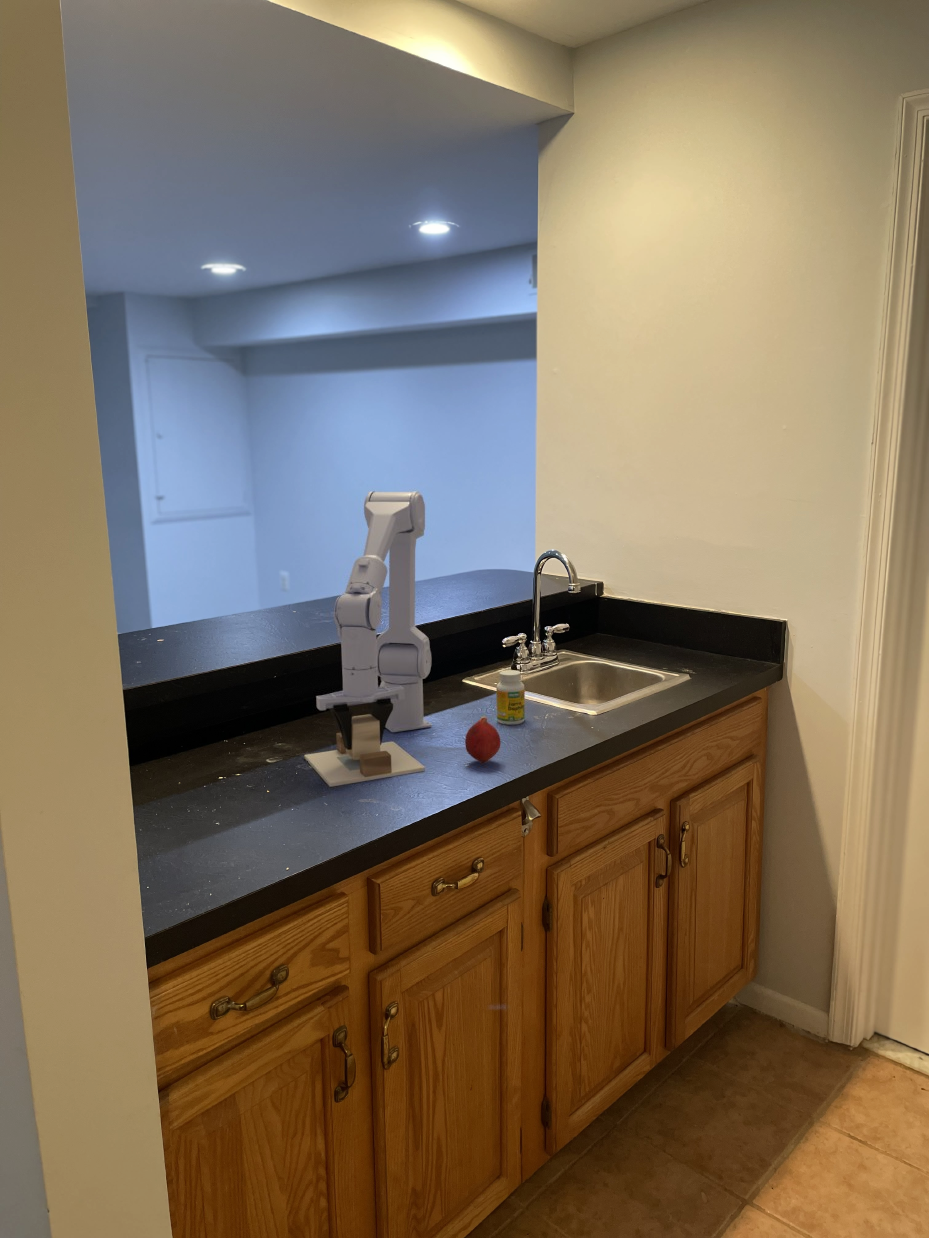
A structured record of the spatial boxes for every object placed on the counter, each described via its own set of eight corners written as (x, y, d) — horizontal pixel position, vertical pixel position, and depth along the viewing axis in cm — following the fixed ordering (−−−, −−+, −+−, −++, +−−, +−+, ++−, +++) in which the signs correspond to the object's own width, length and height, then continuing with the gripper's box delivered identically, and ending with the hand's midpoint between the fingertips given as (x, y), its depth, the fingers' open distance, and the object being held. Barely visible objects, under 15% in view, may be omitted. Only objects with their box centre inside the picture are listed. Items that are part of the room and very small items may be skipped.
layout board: (304, 758, 159) (304, 754, 159) (393, 744, 166) (392, 740, 166) (329, 786, 146) (329, 782, 146) (424, 770, 152) (424, 766, 152)
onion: (475, 771, 152) (475, 724, 150) (459, 761, 157) (458, 715, 155) (506, 765, 154) (506, 718, 153) (489, 755, 159) (489, 710, 158)
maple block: (346, 752, 157) (344, 717, 156) (371, 748, 158) (370, 714, 157) (354, 760, 153) (353, 724, 152) (380, 755, 154) (379, 721, 153)
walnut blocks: (337, 749, 162) (336, 733, 161) (361, 746, 163) (361, 729, 163) (364, 777, 148) (364, 759, 148) (391, 772, 150) (391, 754, 150)
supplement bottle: (513, 715, 182) (513, 667, 181) (530, 722, 178) (530, 673, 176) (491, 720, 179) (490, 671, 178) (507, 727, 175) (507, 677, 173)
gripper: (323, 676, 146) (327, 759, 149) (410, 666, 152) (412, 746, 155) (311, 667, 153) (315, 746, 155) (395, 657, 158) (397, 734, 161)
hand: (362, 745), depth 155 cm, fingers closed on maple block, 4 cm apart
